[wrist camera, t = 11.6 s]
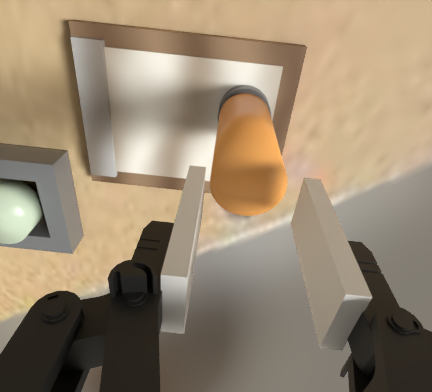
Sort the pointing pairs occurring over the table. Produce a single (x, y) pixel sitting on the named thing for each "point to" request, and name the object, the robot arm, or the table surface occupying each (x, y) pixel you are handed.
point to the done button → (18, 210)
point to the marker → (246, 155)
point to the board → (169, 96)
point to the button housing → (46, 196)
